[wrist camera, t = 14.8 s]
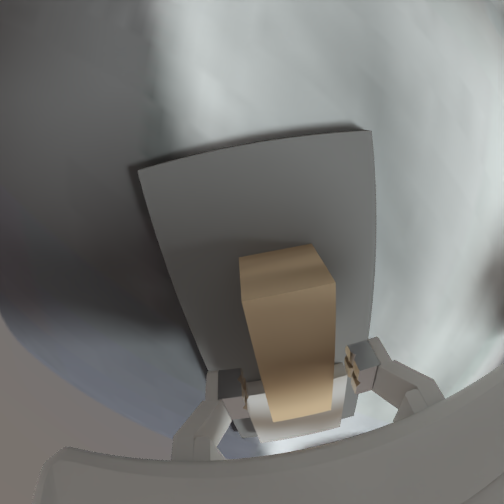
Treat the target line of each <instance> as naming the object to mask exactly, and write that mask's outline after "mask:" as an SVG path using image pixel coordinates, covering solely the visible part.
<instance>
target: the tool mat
mask: <svg viewBox="0 0 504 504" xmlns="http://www.w3.org/2000/svg"><path fill="white" fill-rule="evenodd" d="M138 175H139V179H140V183H141V186H142V190H143V194H144V197H145V201H146V204H147V208H148V211H149V214H150V218H151V221H152V224H153V227H154V231H155V234H156V237H157V240H158V243H159V246H160V249H161V252H162V255H163V258H164V261H165V264H166V267H167V270H168V272H169V275H170V278H171V281H172V283H173V286H174V289H175V292H176V294H177V297H178V300H179V302H180V305H181V307H182V310H183V312H184V315H185V317H186V320H187V322H188V325H189V327H190V330H191V332H192V335H193V337H194V339H195V342H196V344H197V346H198V349H199V351H200V353H201V356H202V358H203V360H204V362H205V365H206V367H207V369H208V371H218V370H226V369H235V368H242V371H243V376H244V378H245V379H246V382H253V381H259V380H261V376H260V372H259V368H258V364H257V360H256V357H255V353H254V349H253V345H252V341H251V337H250V333H249V329H248V325H247V321H246V317H245V313H244V309H243V305H242V300H241V285H240V270H239V257H244V256H249V255H254V254H259V253H265V252H270V251H275V250H280V249H286V248H291V247H296V246H302V245H307V244H312V245H313V247H314V248H315V250H316V251H317V253H318V254H319V256H320V258H321V259H322V261H323V263H324V264H325V266H326V267H327V269H328V271H329V272H330V274H331V276H332V277H333V279H334V281H335V282H336V334H335V361H334V365H335V364H339V363H343V365H344V367H345V364H344V358H345V357H346V352H345V347H346V345H350V344H353V343H357V342H360V341H364V340H367V339H368V336H369V328H370V320H371V311H372V301H373V290H374V276H375V257H376V184H375V165H374V152H373V140H372V131H369V130H357V131H342V132H330V133H320V134H310V135H302V136H294V137H286V138H279V139H272V140H266V141H260V142H254V143H248V144H242V145H237V146H232V147H227V148H222V149H217V150H212V151H208V152H203V153H199V154H194V155H190V156H186V157H182V158H178V159H174V160H170V161H166V162H163V163H159V164H155V165H152V166H148V167H145V168H142V169H140V170H138ZM357 399H358V394H356V395H355V393H354V390H353V388H352V386H351V378H350V377H348V376H347V384H346V391H345V398H344V405H343V411H342V417H341V419H344V418H347V417H350V416H354V412H355V408H356V403H357ZM233 422H234V424H235V426H236V428H237V430H238V432H239V434H240V436H241V437H242V438H249V437H257V436H258V435H257V433H256V430H255V428H254V426H253V423H252V421H251V418H250V417H249V418H242V419H235V420H233Z"/></svg>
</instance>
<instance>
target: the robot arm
mask: <svg viewBox="0 0 504 504" xmlns="http://www.w3.org/2000/svg"><path fill="white" fill-rule="evenodd" d="M345 352H346V357H345V358H344V364H345V370H346V373H347V376H348V377H350V378H351V386H352V388H353V390H354V393H355V395H356V394H359V393H363V392H366V391H370V390H372V391H374V392H375V393H376V394H378V395H379V396H381V397H382V398H383V399H385V400H386V401H388V402H389V403H390V404H392V405H393V406H395V407H396V408H397V409H399V410H398V412H397V414H396V416H395V418H394V420H393V422H394V423H391V424H388V425H386V426H383V427H380V428H378V429H375V430H372V431H369V432H366V433H363V434H360V435H357V436H353V437H350V438H347V439H343V440H340V441H336V442H332V443H328V444H325V445H320V446H316V447H312V448H307V449H302V450H297V451H292V452H287V453H281V454H274V455H268V456H260V457H252V458H242V459H230V460H225V457H224V456H223V455H222V453H221V452H220V451H219V450H218V448H217V445H218V444H219V442H220V440H221V439H222V437H223V435H224V434H225V432H226V430H227V428H228V427H229V425H230V423H231V422H232V420H235V419H242V418H249V417H250V407H249V403H248V400H247V399H248V398H249V395H248V387H247V383H246V379H245V378H244V376H243V371H242V368H235V369H226V370H218V371H208V372H207V376H206V394H205V401H202V402H201V403H200V404H199V406H198V407H197V408H196V409H195V411H194V412H193V413H192V414H191V416H190V417H189V418H188V419H187V421H186V422H185V423H184V424H183V425H182V427H181V428H180V429H179V430H178V431H177V433H176V434H175V435H174V436H173V445H172V454H171V461H170V460H152V459H140V458H131V457H122V456H115V455H109V454H103V453H97V452H91V451H87V450H82V449H78V448H73V447H64V448H63V449H61V450H59V451H58V452H56V453H55V454H54V455H53V456H52V457H50V458H49V459H48V460H47V461H46V462H45V463H44V465H43V467H42V469H41V471H40V474H39V477H38V480H37V483H36V487H35V491H34V495H33V499H32V503H31V504H504V363H503V364H501V365H500V366H498V367H497V368H495V369H494V370H493V371H491V372H490V373H488V374H487V375H485V376H484V377H482V378H480V379H479V380H477V381H476V382H474V383H472V384H471V385H469V386H467V387H466V388H464V389H462V390H461V391H459V392H457V393H455V394H453V395H452V396H450V397H448V398H446V399H445V398H444V396H443V394H442V392H441V391H440V389H439V387H438V386H437V384H436V382H435V381H434V379H432V378H430V377H428V376H426V375H424V374H421V373H419V372H417V371H415V370H413V369H411V368H409V367H407V366H405V365H404V364H402V363H400V362H398V361H396V360H394V361H392V360H391V358H390V356H389V355H388V353H387V351H386V350H385V348H384V346H383V345H382V343H381V341H380V340H379V338H378V337H374V338H371V339H367V340H364V341H360V342H357V343H353V344H350V345H346V347H345Z"/></svg>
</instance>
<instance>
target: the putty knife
mask: <svg viewBox="0 0 504 504" xmlns="http://www.w3.org/2000/svg"><path fill="white" fill-rule="evenodd" d="M239 270H240V285H241V300H242V305H243V309H244V313H245V317H246V321H247V325H248V329H249V333H250V337H251V341H252V345H253V349H254V353H255V357H256V360H257V364H258V368H259V372H260V376H261V380H259V381H253V382H246V383H247V387H248V395H249V398H248V399H247V400H248V403H249V407H250V418H251V421H252V423H253V426H254V428H255V430H256V433H257V435H258V438H259V440H260V442H261V443H265V442H272V441H278V440H284V439H289V438H294V437H300V436H304V435H309V434H313V433H318V432H322V431H326V430H330V429H334V428H337V427H340V423H341V417H342V411H343V405H344V398H345V391H346V384H347V373H346V370H345V367H344V365H343V363H339V364H335V365H334V361H335V334H336V282H335V281H334V279H333V277H332V276H331V274H330V272H329V271H328V269H327V267H326V266H325V264H324V263H323V261H322V259H321V258H320V256H319V254H318V253H317V251H316V250H315V248H314V247H313V245H312V244H307V245H302V246H296V247H291V248H286V249H280V250H275V251H270V252H265V253H259V254H254V255H249V256H244V257H239Z"/></svg>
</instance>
